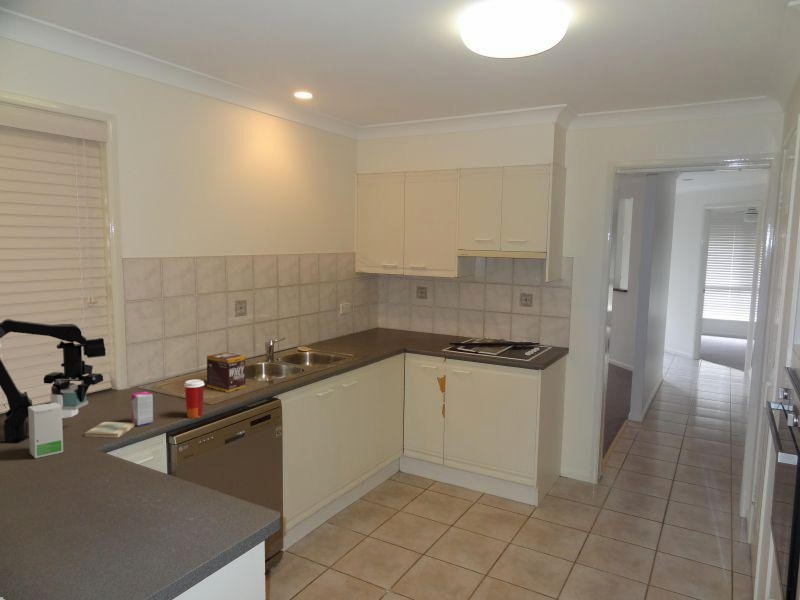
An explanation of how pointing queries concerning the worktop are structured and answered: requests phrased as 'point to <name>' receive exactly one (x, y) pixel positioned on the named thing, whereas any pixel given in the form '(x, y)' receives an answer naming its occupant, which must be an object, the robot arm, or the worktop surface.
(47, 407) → the skincare box
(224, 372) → the supplement box
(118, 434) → the birch stand
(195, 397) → the paper cup
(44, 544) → the worktop surface
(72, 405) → the housing
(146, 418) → the supplement box
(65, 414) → the jar
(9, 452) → the worktop surface
